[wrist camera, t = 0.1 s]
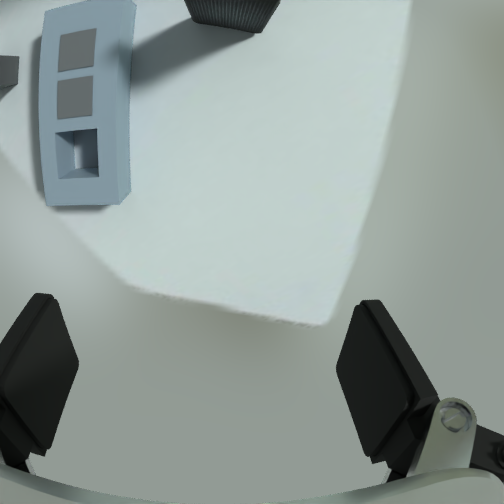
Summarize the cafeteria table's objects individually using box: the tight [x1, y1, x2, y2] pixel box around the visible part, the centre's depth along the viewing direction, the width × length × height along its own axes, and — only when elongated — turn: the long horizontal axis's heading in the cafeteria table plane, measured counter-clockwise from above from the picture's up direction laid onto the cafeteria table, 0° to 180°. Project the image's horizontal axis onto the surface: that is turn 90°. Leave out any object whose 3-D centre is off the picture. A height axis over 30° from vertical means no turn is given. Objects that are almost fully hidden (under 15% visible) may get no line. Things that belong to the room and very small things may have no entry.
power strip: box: [39, 0, 137, 206], centre depth 29 cm, size 28×10×5 cm, turn 176°
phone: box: [184, 0, 281, 33], centre depth 23 cm, size 8×1×15 cm, turn 77°
